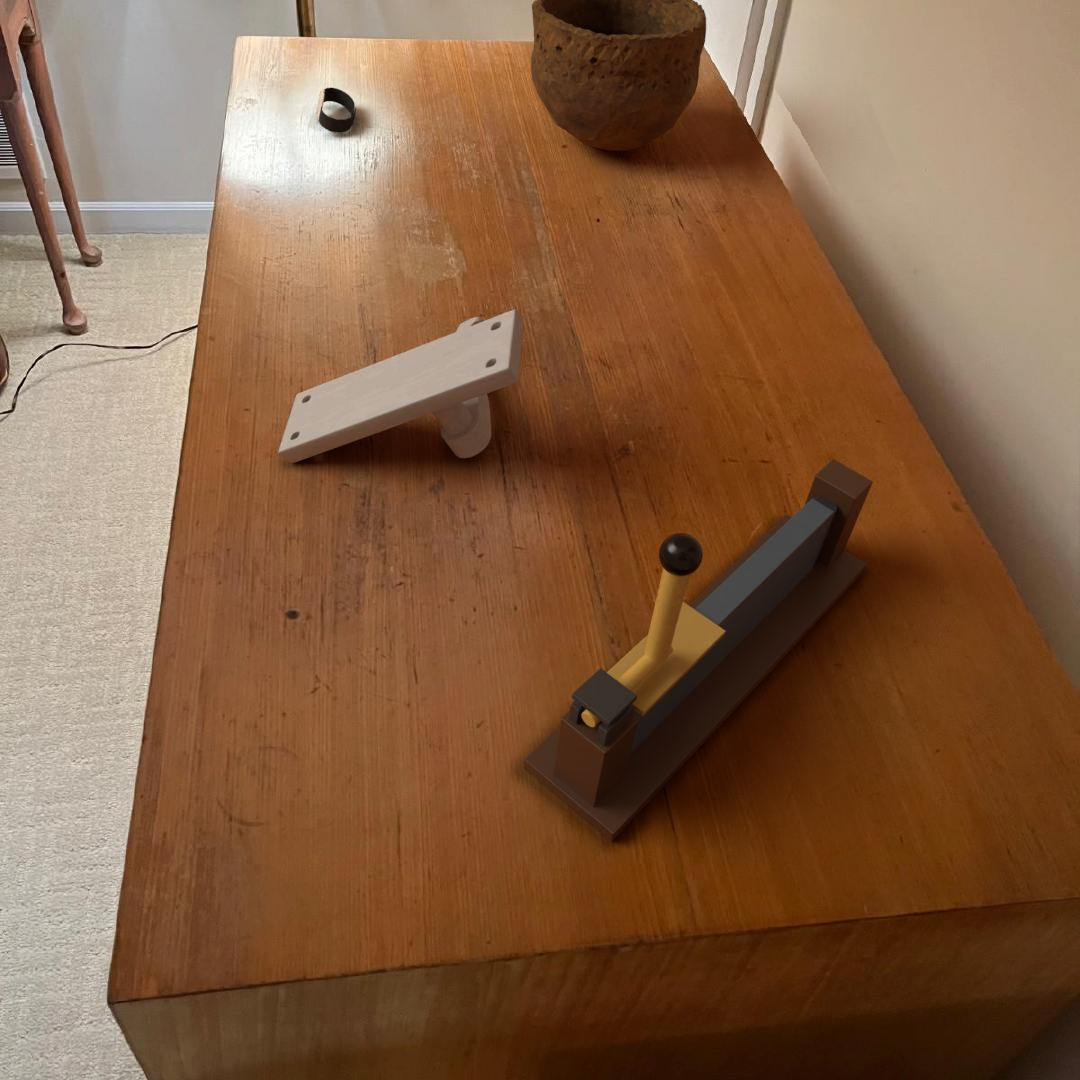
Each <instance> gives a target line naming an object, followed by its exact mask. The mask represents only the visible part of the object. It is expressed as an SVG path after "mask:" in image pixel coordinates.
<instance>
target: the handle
mask: <svg viewBox="0 0 1080 1080" xmlns="http://www.w3.org/2000/svg"><path fill="white" fill-rule="evenodd" d="M523 336H524V324H523V320H522V319H521V316H520V314H519V312H518V311H517V310H516V309H511V310H509V311H506V312H504V313H501V314H498V315H496V316H494V317H491V318H488V319H486V320H484V319H483V318H482V317H480V316H474V317H471V318H469V319H467V320H465V321H462V322H461V323H460V324H459V325H458V327H457V328H456V331H454V332H452V333H449V334H446V335H444V336H441V337H439V338H436V339H434V340H432V341H429V342H427V343H424V344H421V345H419V346H415V347H413V348H411V349H408V350H405V351H403V352H401V353H398V354H396V355H394V356H391V357H388V358H385V359H383V360H381V361H380V360H379V361H378V362H375V363H373V364H370V365H368V366H365V367H363V368H360V369H357V370H355V371H352V372H350V373H347V374H345V375H342V376H340V377H337V378H334V379H332V380H329V381H326V382H324V383H322V384H318V385H316V386H314V387H311V388H309V389H308V388H307V389H306V390H304V391H301V392H298V393H296V394H295V395H296V396H295V398H294V400H293V401H294V402H293V404H292V408H291V410H290V414H289V417H288V420H287V423H286V426H285V429H284V432H283V435H282V438H281V442H280V444H279V448H278V450H277V453H278V455H279V456H280V457H281V458H282V459H284V460H285V461H287V462H288V463H292V464H294V463H297V462H300V461H303V460H305V459H308V458H311V457H314V456H316V455H319V454H322V453H325V452H327V451H331V450H334V449H336V448H339V447H342V446H345V445H348V444H350V443H352V442H353V443H354V442H356V441H358V440H359V441H360V440H362V439H364V438H367V437H370V436H372V435H375V434H378V433H381V432H384V431H386V430H389V429H392V428H395V427H397V426H400V425H403V424H406V423H409V422H412V421H414V420H417V419H421V418H422V417H425V416H428V415H431V414H433V416H434V417H435V418H436V419H437V421H438V422H439V424H440V425H441V429H440V436H441V437H442V439H443V440H444V442H445V443H446V445H447V446H448V448H450V450H451V451H452V452H453V453H454V455H455V456H456V457H457V458H459V459H468V458H472V457H475V456H476V455H478V454H480V453H481V452H483V451H484V450H485V449H486V448H487V447H488V445H489V443H490V442H491V439H492V424H491V423H492V422H491V421H492V420H491V408H490V401H489V396H488V394H489V393H492V392H495V391H497V390H501V389H503V388H505V387H509V386H511V385H514V384H517V383H519V376H520V368H521V367H520V365H521V356H522V347H523V338H524V337H523Z"/></svg>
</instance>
